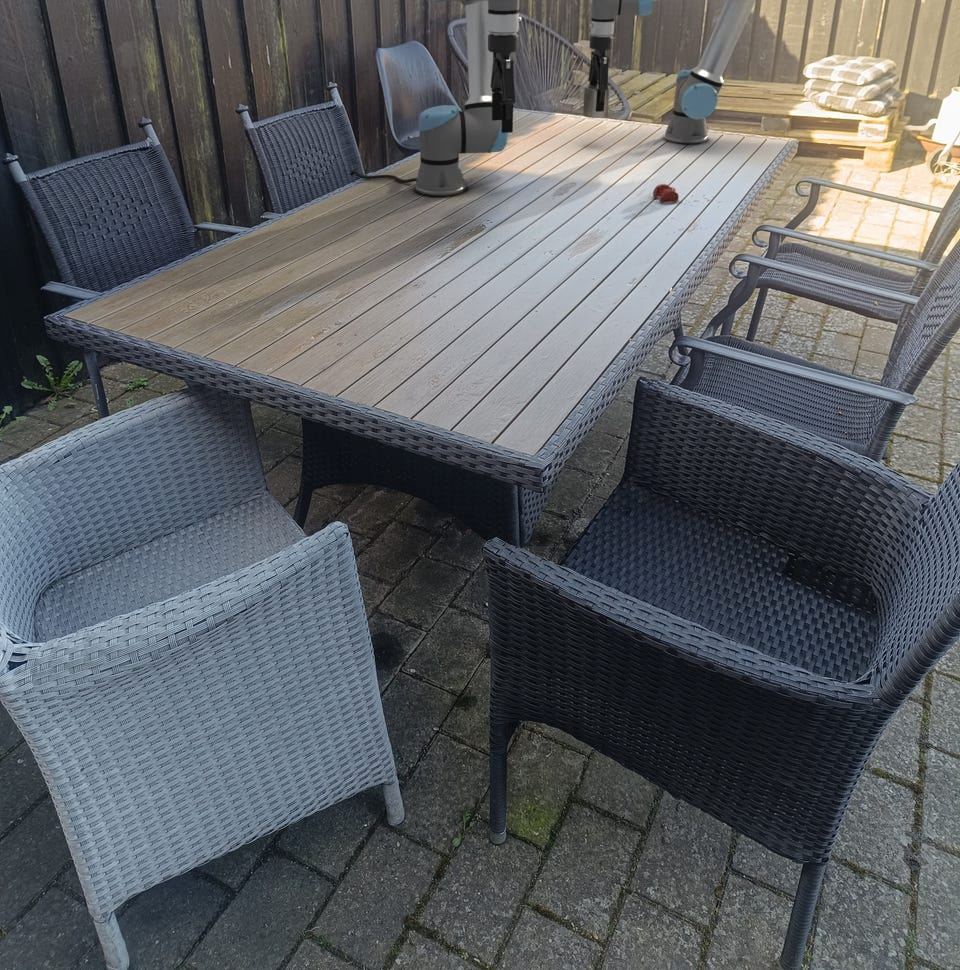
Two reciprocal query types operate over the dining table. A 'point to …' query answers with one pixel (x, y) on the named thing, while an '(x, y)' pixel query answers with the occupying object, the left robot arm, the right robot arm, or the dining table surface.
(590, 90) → the tin
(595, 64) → the right robot arm
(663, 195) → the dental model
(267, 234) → the dining table surface
